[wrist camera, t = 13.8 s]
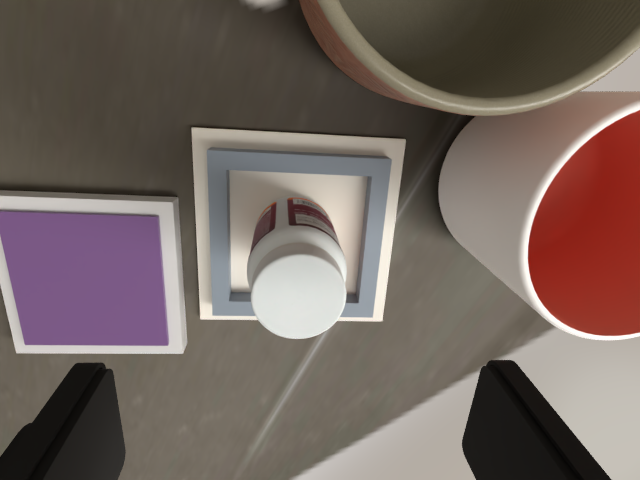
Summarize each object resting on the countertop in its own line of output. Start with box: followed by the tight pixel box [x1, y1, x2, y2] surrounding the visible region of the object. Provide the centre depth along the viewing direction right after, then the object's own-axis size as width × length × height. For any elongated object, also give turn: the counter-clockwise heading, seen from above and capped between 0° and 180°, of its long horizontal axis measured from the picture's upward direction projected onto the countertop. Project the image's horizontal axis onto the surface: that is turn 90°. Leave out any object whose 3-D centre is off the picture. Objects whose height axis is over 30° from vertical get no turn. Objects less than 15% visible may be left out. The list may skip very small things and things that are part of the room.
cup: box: [438, 92, 640, 340], centre depth 20 cm, size 10×10×10 cm
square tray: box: [191, 127, 406, 321], centre depth 24 cm, size 12×12×2 cm
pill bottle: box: [247, 196, 347, 339], centre depth 21 cm, size 5×5×8 cm
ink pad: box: [0, 190, 187, 354], centre depth 24 cm, size 10×10×2 cm
